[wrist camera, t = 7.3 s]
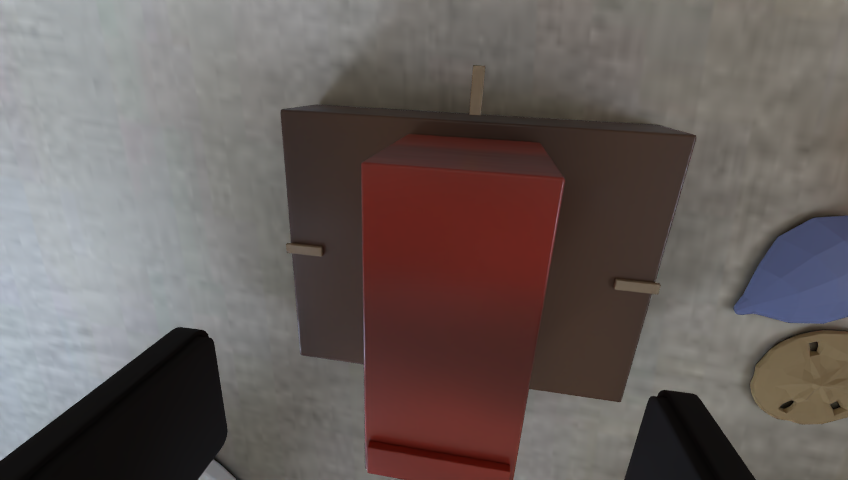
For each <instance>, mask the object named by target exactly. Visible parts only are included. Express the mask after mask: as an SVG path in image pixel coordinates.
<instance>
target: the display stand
mask: <svg viewBox="0 0 848 480" xmlns="http://www.w3.org/2000/svg"><path fill="white" fill-rule="evenodd" d="M484 76H485V66H477V65H473V72H472V84H471V97H470V109H469V114H466V113H450V112H433V111H416V110H399V109H383V108H366V107H349V106H332V105H310V106H303V107H295V108H288V109H282V110H281V123H282V136H283V148H284V160H285V172H286V185H287V197H288V209H289V222H290V234H291V243H287V244H286V250H287V253H292V258H293V271H294V283H295V295H296V307H297V320H298V332H299V344H300V354H301V355H303V356H310V357H317V358H324V359H330V360H337V361H344V362H351V363H358V364H364V338H363V266H362V195H361V164H362V162H364V161H365V160H367V159H368V158H370V157H372V156H373V155H375V154H377V153H378V152H380V151H382V150H383V149H385V148H386V147H388V146H390V145H391V144H393V143H395V142H396V141H398V140H400V139H401V138H403V137H404V136H406V135H408V134H417V135H432V136H448V137H463V138H478V139H493V140H508V141H524V142H539V143H541V145H542V146H543V148H544V149H545V151H546V152H547V153H548V155H549V156H550V158H551V159H552V161H553V162H554V164H555V165H556V166H557V168H558V169H559V171H560V172H561V174H562V175H563V176H564V178H565V185H564V190H563V196H562V202H561V208H560V213H559V219H558V225H557V231H556V236H555V242H554V248H553V254H552V259H551V265H550V271H549V277H548V282H547V288H546V294H545V300H544V305H543V311H542V317H541V323H540V328H539V334H538V340H537V346H536V351H535V357H534V363H533V369H532V374H531V380H530V386H529V389H534V390H541V391H548V392H554V393H561V394H568V395H575V396H581V397H588V398H595V399H602V400H609V401H615V402H621V400H622V397H623V393H624V390H625V386H626V383H627V379H628V376H629V372H630V369H631V365H632V362H633V358H634V355H635V351H636V348H637V344H638V341H639V337H640V334H641V330H642V327H643V323H644V320H645V316H646V313H647V309H648V306H649V302H650V299H651V295H652V294H658V293H659V290H660V287H661V285H660V283H655V281H656V278H657V274H658V271H659V267H660V264H661V260H662V257H663V253H664V250H665V246H666V243H667V239H668V236H669V232H670V229H671V225H672V222H673V218H674V215H675V211H676V208H677V204H678V201H679V197H680V194H681V190H682V187H683V183H684V180H685V176H686V173H687V169H688V166H689V162H690V159H691V155H692V152H693V148H694V145H695V141H696V135H693V134H690V133H686V132H682V131H679V130H675V129H672V128H668V127H664V126H661V125H651V124H634V123H617V122H600V121H584V120H567V119H550V118H533V117H517V116H500V115H483V114H481V108H482V98H483V87H484Z"/></svg>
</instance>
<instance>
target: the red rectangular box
mask: <svg viewBox="0 0 848 480" xmlns="http://www.w3.org/2000/svg"><path fill="white" fill-rule="evenodd" d="M564 185H565V178H564V176H563V175H562V174H561V172H560V171H559V169H558V168H557V166H556V165H555V164H554V162H553V161H552V159H551V158H550V156H549V155H548V153H547V152H546V151H545V149H544V148H543V146H542V145H541V143H539V142H524V141H508V140H493V139H478V138H463V137H448V136H432V135H417V134H408V135H406V136H404V137H403V138H401V139H400V140H398V141H396V142H395V143H393V144H391V145H390V146H388V147H386V148H385V149H383V150H382V151H380V152H378V153H377V154H375V155H373V156H372V157H370V158H368V159H367V160H365V161H364V162H362V164H361V195H362V266H363V338H364V410H365V468H366V469H367V472H368V473H371V474H376V475H382V476H387V477H393V478H398V479H404V480H513V478H514V472H515V466H516V461H517V455H518V449H519V443H520V438H521V432H522V426H523V420H524V415H525V409H526V403H527V397H528V392H529V386H530V380H531V374H532V369H533V363H534V357H535V351H536V346H537V340H538V334H539V328H540V323H541V317H542V311H543V305H544V300H545V294H546V288H547V282H548V277H549V271H550V265H551V259H552V254H553V248H554V242H555V236H556V231H557V225H558V219H559V213H560V208H561V202H562V196H563V190H564Z"/></svg>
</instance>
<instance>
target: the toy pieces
mask: <svg viewBox="0 0 848 480" xmlns="http://www.w3.org/2000/svg"><path fill="white" fill-rule="evenodd" d="M734 311H735V313H736V314H739V315H744V314H753V313H754V314H758V315H762V316H766V317H769V318H773V319H777V320H781V321H784V322H788V323H820V324H824V323H827V322H831V321H834V320H838V319H841V318H845V317H848V216H834V217H817V218H812V219H810V220H808V221H806V222H805V223H803V224H801V225H799V226H797V227H795V228H793V229H792V230H790V231H788V232H786V233H784V234H782V235H780V236H779V237H777V239H776V240H775V242H774V243H773V245H772V246H771V248H770V249H769V250H768V252H767V253H766V255H765V256H764V258H763V259H762V261H761V262H760V264H759V265H758V267H757V269H756V271H755V273H754V275H753V277H752V279H751V281H750V282H749V284H748V286H747V288H746V290H745V292H744V294H743V296H742V297H741V298H740V299H739V300H738V302H737V303H736V304H735V306H734ZM812 342H818V348H817V351H810V346H809V343H812ZM750 387H751V394H752V396H753V398H754V401H755V402H756V403H757V405H758V406H759V407H760V408H761V409H762V410H763V411H765V412H766V413H767V414H769V415H771V416H773V417H775V418H777V419H781V420H789V421H792V422H795V423H798V424H824V423H828V422H831V421H835V420H839V419H843V418H846V417H848V332H845V331H832V330H820V331H813V332H808V333H803V334H798V335H796V336H793V337H791V338H789V339H786V340H784V341H782V342H780V343H778V344H777V345H776V346H774V347H773V348H771V349H770V350H769V351H768V352H767V353H766V354H765V355H764V356H763V358H762V359H761V360H760V361H759V362H758V363H757V364H756V366H755V371H754V375H753V378H752V380H751V383H750ZM790 400H793V401H794V403H793V404H792V405H791V406H790V407H787V408H785V409H782V408H780V406H781V405H782V404H783V403H785V402H788V401H790ZM836 401H837V402H838V403H839V405H840V407H839V408H836V409H832V407H831V406H830V404H831V403H834V402H836Z"/></svg>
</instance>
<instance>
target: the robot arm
mask: <svg viewBox="0 0 848 480" xmlns="http://www.w3.org/2000/svg"><path fill="white" fill-rule="evenodd" d="M226 437H227V423H226V416H225V410H224V403H223V397H222V390H221V384H220V377H219V371H218V365H217V358H216V352H215V345H214V341H213V340H212V338H209V336H208V334H207V333H206V331H204V330H199V329H191V328H183V327H178V328H175V329H173V330H172V331H170V332H169V333H168V334H166V335H165V336H164V337H163V338H161V339H160V340H159V341H157V342H156V343H155V344H153V345H152V346H151V347H149V348H148V349H147V350H145V351H144V352H143V353H142V354H140V355H139V356H138V357H136V358H135V359H134V360H132V361H131V362H130V363H128V364H127V365H126V366H124V367H123V368H122V369H121V370H119V371H118V372H117V373H115V374H114V375H113V376H111V377H110V378H109V379H107V380H106V381H105V382H103V383H102V384H101V385H100V386H98V387H97V388H96V389H94V390H93V391H92V392H90V393H89V394H88V395H86V396H85V397H84V398H82V399H81V400H80V401H79V402H77V403H76V404H75V405H73V406H72V407H71V408H69V409H68V410H67V411H65V412H64V413H63V414H61V415H60V416H59V417H58V418H56V419H55V420H54V421H52V422H51V423H50V424H48V425H47V426H46V427H44V428H43V429H42V430H40V431H39V432H38V433H37V434H35V435H34V436H33V437H31V438H30V439H29V440H27V441H26V442H25V443H23V444H22V445H21V446H19V447H18V448H17V449H16V450H14V451H13V452H12V453H10V454H9V455H8V456H6V457H5V458H4V459H2V460H1V461H0V480H236V479H235V477H234V476H232V475H231V474H230V473H229V472H228V471H227V470H226V469H225V468H224V467H223V466H222V465H220V464H219V463H218V462H216V461H215V460H214V457H215V456H216V455H217V453H218V452H219V451H220V449H221V448H222V446H223V445H224V443H225V440H226ZM624 480H756V479H755V478H754V476H753V475H752V473H751V472H750V471H749V469H748V468H747V466H746V465H745V463H744V462H743V460H742V459H741V458H740V456H739V455H738V453H737V452H736V450H735V449H734V447H733V446H732V445H731V443H730V442H729V440H728V439H727V437H726V436H725V434H724V433H723V432H722V430H721V429H720V427H719V426H718V424H717V423H716V421H715V420H714V418H713V417H712V416H711V414H710V413H709V411H708V410H707V408H706V407H705V405H704V404H703V403H702V401H701V400H700V399H699V397H698V396H697V395H695V394H691V393H684V392H676V391H668V390H662V391H660V392H659V393H658V396H657V397H656V396H651V397H650V398H649V400H648V403H647V406H646V409H645V413H644V416H643V419H642V423H641V426H640V429H639V433H638V436H637V439H636V443H635V446H634V449H633V453H632V456H631V459H630V463H629V466H628V469H627V473H626V476H625V479H624Z"/></svg>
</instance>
